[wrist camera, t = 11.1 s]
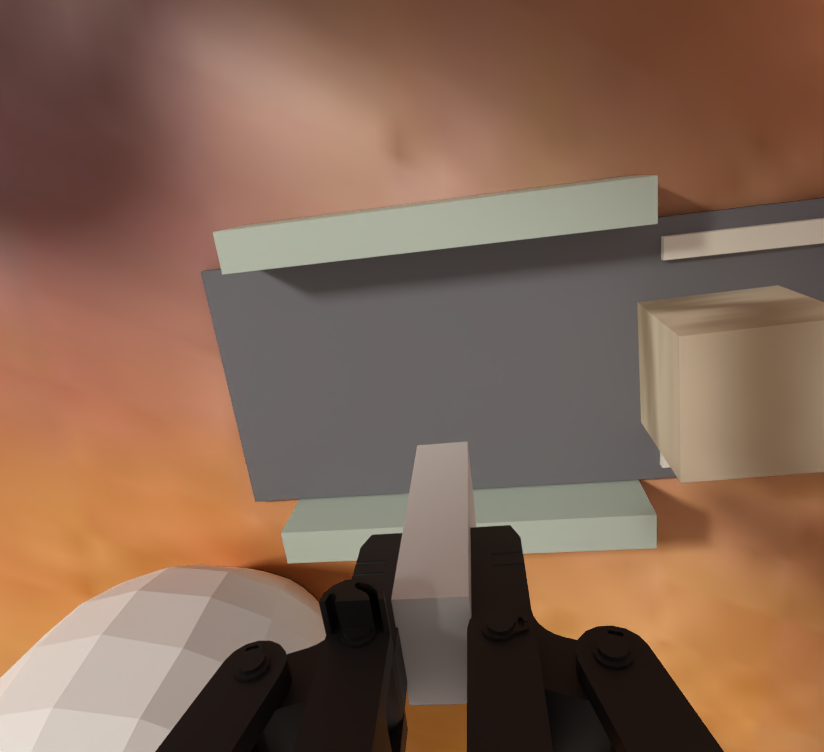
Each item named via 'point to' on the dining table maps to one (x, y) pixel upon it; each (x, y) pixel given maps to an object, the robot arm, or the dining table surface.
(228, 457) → the dining table surface
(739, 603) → the dining table surface
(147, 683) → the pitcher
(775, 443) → the block
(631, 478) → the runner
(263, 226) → the channel
